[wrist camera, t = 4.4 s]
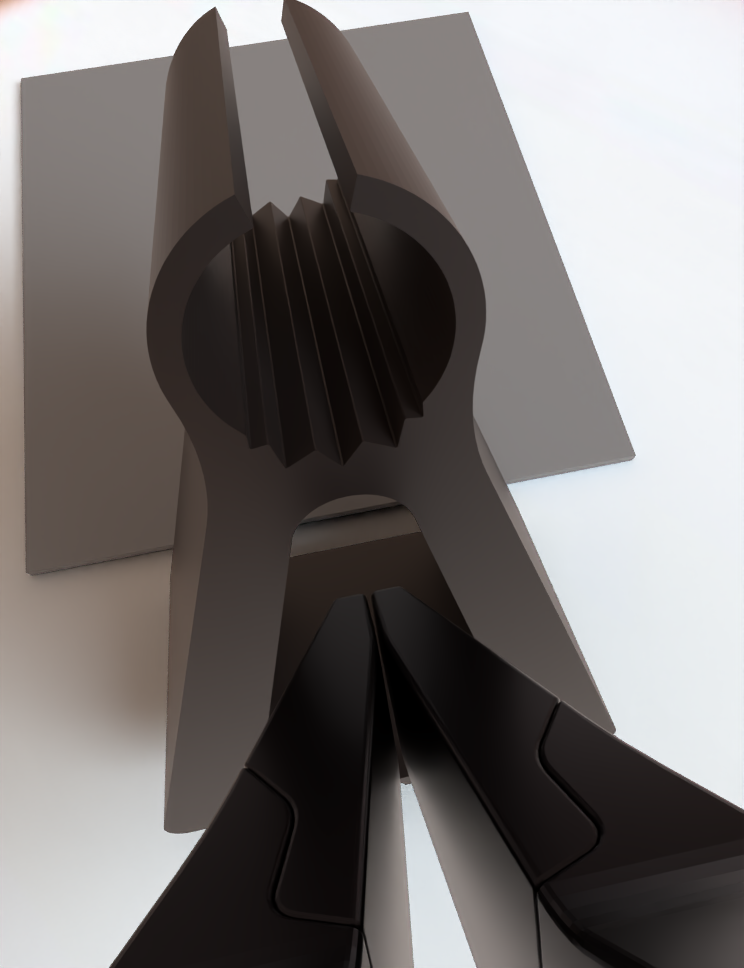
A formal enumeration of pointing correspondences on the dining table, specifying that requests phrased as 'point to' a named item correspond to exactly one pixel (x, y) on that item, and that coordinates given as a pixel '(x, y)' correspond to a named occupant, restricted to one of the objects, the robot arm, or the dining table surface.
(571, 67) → the dining table surface
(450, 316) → the phone stand
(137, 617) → the dining table surface
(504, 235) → the mat
